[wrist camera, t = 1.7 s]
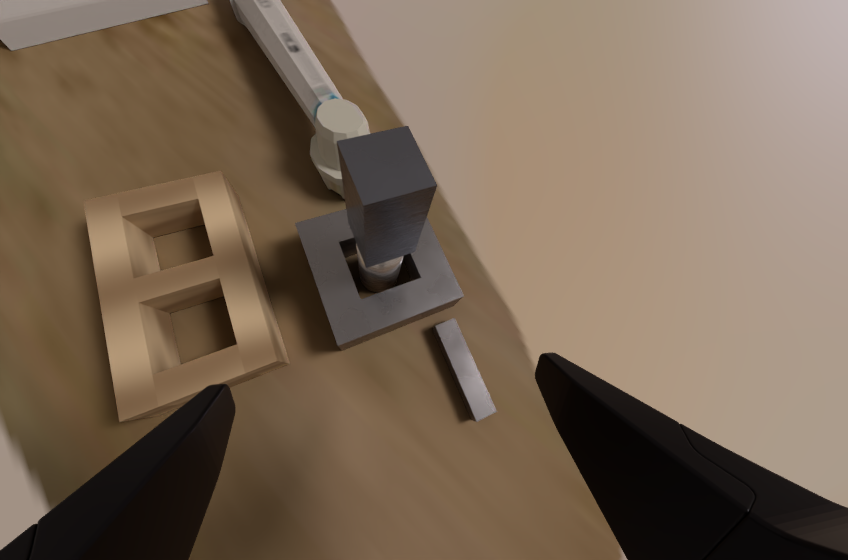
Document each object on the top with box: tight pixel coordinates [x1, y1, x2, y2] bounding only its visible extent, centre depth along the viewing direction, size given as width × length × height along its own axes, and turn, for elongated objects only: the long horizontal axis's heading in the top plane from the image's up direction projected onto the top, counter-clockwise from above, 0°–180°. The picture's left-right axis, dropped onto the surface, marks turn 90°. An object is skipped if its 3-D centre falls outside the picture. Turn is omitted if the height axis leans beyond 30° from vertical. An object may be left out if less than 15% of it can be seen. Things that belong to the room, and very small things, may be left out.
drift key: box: [432, 318, 497, 422], centre depth 22 cm, size 7×2×1 cm, turn 23°
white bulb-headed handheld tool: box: [229, 0, 371, 199], centre depth 26 cm, size 5×7×25 cm
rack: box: [83, 171, 290, 422], centre depth 20 cm, size 14×8×3 cm, turn 23°
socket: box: [295, 209, 464, 350], centre depth 23 cm, size 9×9×3 cm
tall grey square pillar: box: [337, 126, 437, 293], centre depth 18 cm, size 3×3×13 cm
